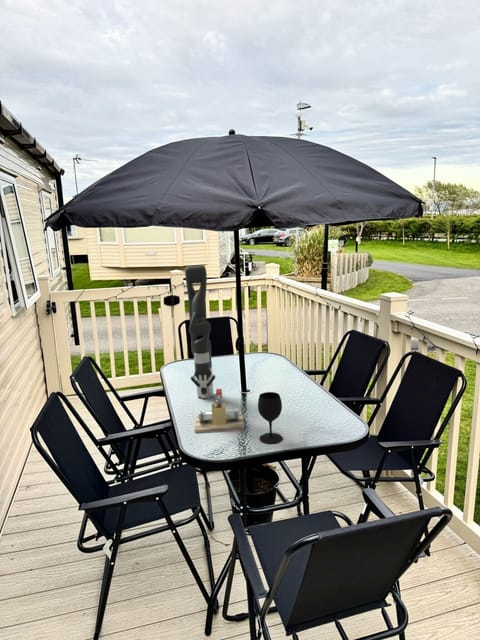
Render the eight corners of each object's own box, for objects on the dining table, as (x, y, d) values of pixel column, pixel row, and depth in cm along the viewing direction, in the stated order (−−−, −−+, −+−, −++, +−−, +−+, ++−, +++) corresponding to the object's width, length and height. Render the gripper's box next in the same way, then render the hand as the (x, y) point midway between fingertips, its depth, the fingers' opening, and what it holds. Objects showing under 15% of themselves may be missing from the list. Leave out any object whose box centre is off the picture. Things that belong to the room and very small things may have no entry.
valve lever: (221, 406, 202) (221, 400, 201) (215, 406, 202) (214, 401, 201) (222, 393, 218) (222, 388, 218) (216, 393, 218) (215, 389, 218)
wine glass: (255, 436, 191) (253, 393, 187) (276, 431, 194) (275, 389, 191) (265, 446, 181) (263, 401, 177) (287, 441, 185) (285, 397, 181)
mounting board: (196, 419, 212) (196, 416, 212) (243, 416, 212) (242, 414, 212) (194, 432, 197) (194, 429, 197) (244, 429, 198) (244, 426, 197)
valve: (200, 419, 208) (199, 404, 206) (239, 417, 208) (238, 402, 207) (199, 425, 201) (198, 409, 200) (239, 423, 202) (238, 407, 200)
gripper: (215, 358, 216) (217, 391, 219) (189, 359, 216) (191, 392, 219) (215, 362, 208) (217, 396, 211) (187, 363, 208) (190, 397, 211)
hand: (204, 394), depth 215 cm, fingers closed
